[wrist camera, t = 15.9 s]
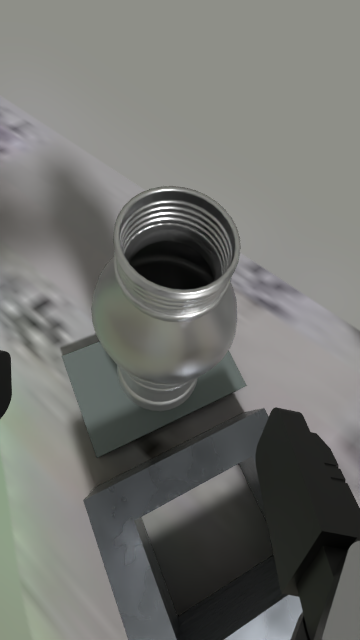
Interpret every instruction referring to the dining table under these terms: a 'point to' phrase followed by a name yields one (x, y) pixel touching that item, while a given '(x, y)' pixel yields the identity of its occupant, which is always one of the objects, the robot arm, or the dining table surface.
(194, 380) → the silver metal bottle
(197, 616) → the metal collar
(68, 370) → the grey-green rectangular panel
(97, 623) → the dining table surface
